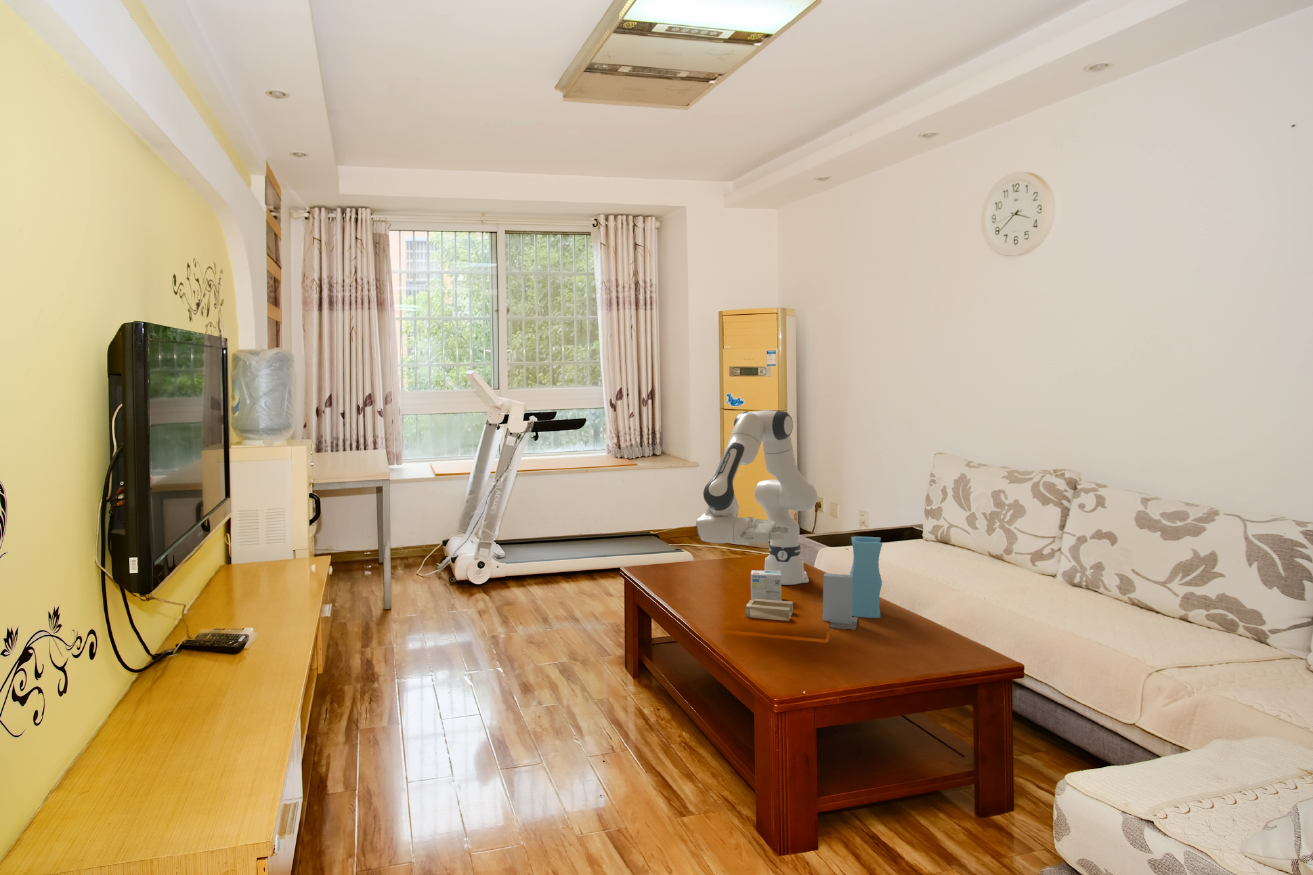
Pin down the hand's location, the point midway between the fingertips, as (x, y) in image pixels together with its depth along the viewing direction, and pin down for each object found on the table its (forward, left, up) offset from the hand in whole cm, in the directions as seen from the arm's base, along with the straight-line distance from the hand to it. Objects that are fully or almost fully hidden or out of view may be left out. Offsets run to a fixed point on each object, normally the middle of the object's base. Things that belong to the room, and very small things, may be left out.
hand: (786, 533), depth 274 cm
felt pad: (0, +17, -29) cm, 33 cm away
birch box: (0, -5, -29) cm, 29 cm away
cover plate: (0, +17, -28) cm, 32 cm away
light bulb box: (-18, -9, -29) cm, 35 cm away
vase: (-14, +25, -29) cm, 40 cm away
